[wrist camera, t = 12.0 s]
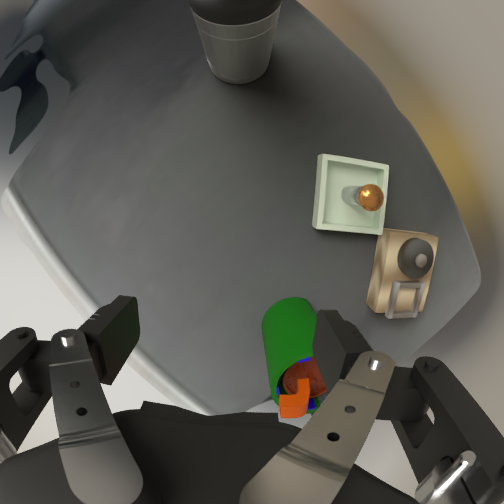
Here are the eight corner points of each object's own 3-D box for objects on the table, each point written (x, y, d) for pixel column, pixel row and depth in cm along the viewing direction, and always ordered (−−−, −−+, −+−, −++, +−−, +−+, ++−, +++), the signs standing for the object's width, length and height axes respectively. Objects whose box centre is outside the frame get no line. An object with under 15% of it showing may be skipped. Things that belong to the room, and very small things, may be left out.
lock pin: (340, 182, 39) (361, 182, 31) (360, 185, 39) (385, 186, 31) (338, 204, 40) (358, 209, 32) (358, 207, 40) (382, 212, 32)
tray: (317, 155, 39) (322, 153, 36) (380, 166, 39) (389, 165, 36) (311, 226, 41) (316, 228, 38) (374, 231, 42) (382, 235, 39)
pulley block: (378, 227, 41) (399, 234, 35) (425, 232, 42) (448, 240, 35) (365, 305, 45) (381, 323, 38) (410, 305, 45) (429, 320, 38)
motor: (317, 344, 46) (352, 427, 27) (267, 355, 46) (278, 444, 27) (311, 292, 44) (353, 366, 24) (256, 304, 44) (263, 387, 24)
